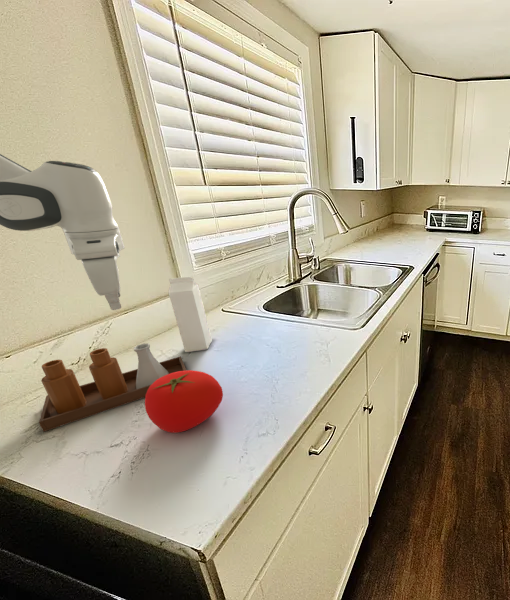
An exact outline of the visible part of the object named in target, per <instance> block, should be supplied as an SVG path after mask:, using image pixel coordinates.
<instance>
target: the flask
mask: <svg viewBox="0 0 510 600" xmlns="http://www.w3.org/2000/svg"><path fill="white" fill-rule="evenodd" d="M150 348H151V344H150V343H149V342H148V343H141V344H137V345H136V346H134V347H133V351H134V352H135V353H136V355H137V360H138V362H137V369H138V372H137V379H136V389H139V388H142V387H145V386H148V385H151V384H153V383H154V382H155V381H156V380H157V379H159V378H161V377H163V376H165V375H168V374H169V372H168V371H167V370H166V369H165V368H164V367H163V366H162V365H161V364H160V363H159V362H160V361H158V359H157V358H155V357H154V355H153V353H152V351H151V349H150Z"/></svg>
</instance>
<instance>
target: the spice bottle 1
mask: <svg viewBox="0 0 510 600" xmlns="http://www.w3.org/2000/svg"><path fill="white" fill-rule="evenodd" d="M41 369H42V371H43V373H44V375H45V376H43V377H42V378H41V380H40V381H41V383H42V386H43V387H44V390H45V391H46V394H47V395H48V396H49V398H50V400H51V402H52V404H53V406H54V408H55V410H56V412H57V413H58V414H62V413H65V412H68V411H71V410H74V409H77V408H80V407H83V406H85V405H86V403H87V401H86V399H85V397H84V394H83V392H82V390H81V388H80V386H81V385H80V383H79V381H78V379H77V377H76V374H75V372H74V370H73V369H70V368H66V366H65V363H64V362H63V359H53V360H49V361H46V362H45V363H43V364H41Z"/></svg>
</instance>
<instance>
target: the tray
mask: <svg viewBox="0 0 510 600" xmlns="http://www.w3.org/2000/svg"><path fill="white" fill-rule="evenodd" d="M158 362H159V363H160V364H161V365H162V366H163V367H164V368H165V369H166V370H167V371H168V372H169V374H170V373H174V372H178V371H186V370H187V368H186V365H185V362H184V360H183V358H182V355H180V356H177V357H172V358H169V359H166V360H163V361H158ZM137 372H138V368H135V369H133V370H129V371H125V372H122V374H123V377H124V380H125V382H126V385H127V388H128V391H127V392H126V393H123V394H120V395H117V396H114V397H111V398H108V399H105V400H103V399H102V398H101V395H100V393H99V391H98V388H97V386H96V383H95V381H92V382H89V383H83V384H81V385H80V388H81V390H82V392H83V394H84V397H85V399H86V401H87V403H86V405H85V406H83V407H80V408H77V409H74V410H71V411H68V412H65V413H62V414H58V413H57V412H56V410H55V408H54V406H53V404H52V402H51V400H50V398H49V396H48V394H47V395H46V396H45V400H44V403H43V406H42V409H41V413H40V417H39V420H38V423H39V426H40V427H41V429H42V432H48V431H50V430H53V429H57V428H59V427H62V426H65V425H68V424H71V423H73V422H77V421H80V420H83V419H86V418H89V417H91V416H94V415H97V414H100V413H103V412H106V411H109V410H113V409H116V408H119V407H120V406H123V405H127V404H130V403H133V402H136V401H138V400H142V399H145V396H146V393H147V390H148V388H149V387H150V386H151V385H152V384H151V385H148V386H145V387H142V388H139V389H136V379H137Z"/></svg>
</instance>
